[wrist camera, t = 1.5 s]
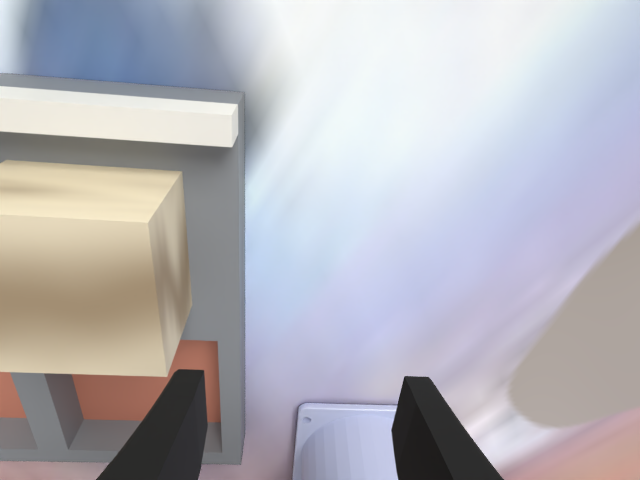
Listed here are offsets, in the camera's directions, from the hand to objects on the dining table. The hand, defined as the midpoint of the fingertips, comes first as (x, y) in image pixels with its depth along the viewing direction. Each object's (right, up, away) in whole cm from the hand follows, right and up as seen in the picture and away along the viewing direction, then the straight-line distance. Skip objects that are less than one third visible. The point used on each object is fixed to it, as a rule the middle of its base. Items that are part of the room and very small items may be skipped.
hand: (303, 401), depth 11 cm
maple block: (-8, +4, +6) cm, 11 cm away
